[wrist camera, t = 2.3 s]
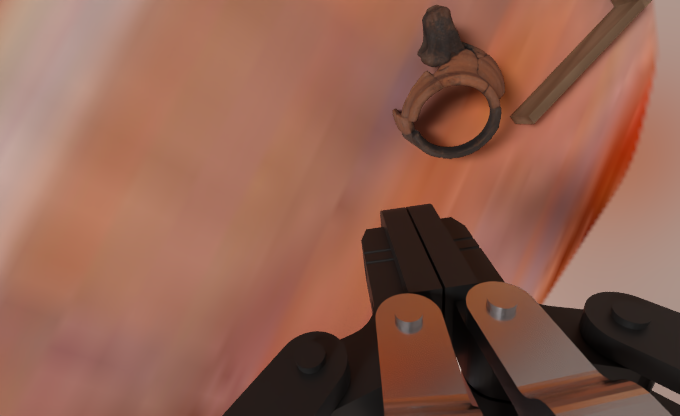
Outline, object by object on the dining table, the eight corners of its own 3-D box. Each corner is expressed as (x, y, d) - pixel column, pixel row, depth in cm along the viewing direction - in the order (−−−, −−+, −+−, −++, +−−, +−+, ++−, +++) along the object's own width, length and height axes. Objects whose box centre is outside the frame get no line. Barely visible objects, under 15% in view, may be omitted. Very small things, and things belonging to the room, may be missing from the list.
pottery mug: (497, 104, 35) (525, 144, 28) (407, 138, 38) (414, 182, 32) (469, -25, 28) (498, -10, 22) (363, 29, 31) (361, 57, 25)
